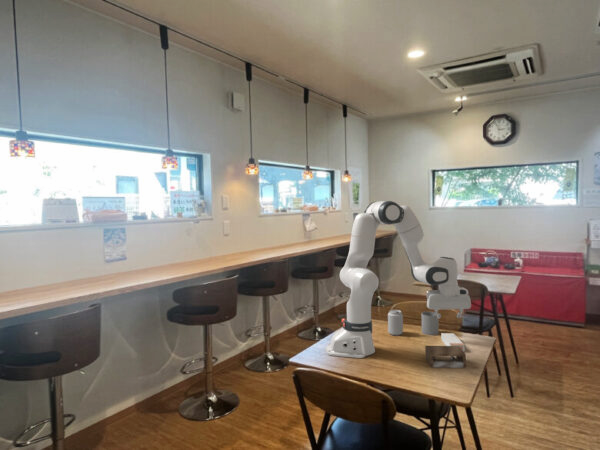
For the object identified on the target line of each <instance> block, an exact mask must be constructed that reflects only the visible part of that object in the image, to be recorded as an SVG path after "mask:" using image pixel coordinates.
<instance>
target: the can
mask: <svg viewBox="0 0 600 450" xmlns="http://www.w3.org/2000/svg"><path fill="white" fill-rule="evenodd" d="M388 311H389V312H388V313H387V331H388V334H389V335H391V336H394V337H395V336H401V335H402V334H403V333H404V314H403V313H402V311H401V310H400V309H391V310H388Z"/></svg>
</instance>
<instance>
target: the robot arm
mask: <svg viewBox="0 0 600 450" xmlns="http://www.w3.org/2000/svg"><path fill="white" fill-rule="evenodd" d="M380 225H383V226H386V225H391V226H392V225H393V226H394V227H395V231H396V233H397V234H398V237H399V238H400V240H401V243H402V247H403V250H404V252H405V254H406V256H407V259H408V261H409V265H410V272H411V276H412V278H413V279H414V280H415V281H416V282H419V283H423V284H427V285H429V286H438V289H433V290H432V289H431V290H429V291H426V299H427V300H426V307H427V309H429V310H434V312H435V313H436V314H437V318H439V319H441V318H442V314H441V313H439V310H459V312H458V313H456V318H457V319H461V318H462V314H463V313H464V310H469V309H471V308H472V302H471V301H472V300H471V297H470V295H469V290H468V289H467V288H465V287H463V286H459V283H458V276H459V272H458V264H457V261H456V259H455V258H453V257H447V256H440V257H439V258H438V259H437V260H436V261H435V262H433V263H428V262H426V261H425V260H424V259H423V258H422V255H421V252H420V250H419V248H418V247H419V246H418V244H419V243H421V242H422V240H423V238H424V236H425V235H424V229H423V227H422V225H421V223H420V222H419V219H418V218H417V216H416V214H415V213H414V211H413V210H412V209H411V207H410V206H408V205H404V204H403V205H400V204H398V203H397V202H395V201H392V200H378V201H377V200H376V201H373V202H371V203H370V204H369V205H368V206H367V207H366V209H365V210H364V212H360V213H359V214H357V215H356V216H355V218H354V221H353V224H352V230H351V233H350V240H349V241H350V243H349V251H348V255H347V258H346V260H345V263H344V266H343V267H342V268H341V269H340V271H339V280H340V282H341V283H342V284H343V285H344V286H345V287H347V288H349V289H350V295H349V299H348V300H347V302H346V318H342V319H341V323H342V328H341V329H339V330H338V331H337V332H335V333H333V335H332V336H331V339H330V340H331V341H330V342H329V343H328V344H326V349H325V351H326V354H327V355H329V356H333V357H344V358H354V359H364V358H365V357H367V356H371V355H373V354H375V352H376V349H375V345H374V340H373V320H372V300H373V295H374V293H375V291H377V289H378V287H379V284H380V280H379V277H378V276H377V275H376V273H374V272H373V271H372V270H370V269H369V268H367V267H368V264H369V262H370V260H371V258H372V257H373V256H374V252H375V244H376V243H375V242H376V236H377V235H376V234H377V233H376V232H377V230H378V227H379V226H380Z"/></svg>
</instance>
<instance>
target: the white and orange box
mask: <svg viewBox="0 0 600 450" xmlns="http://www.w3.org/2000/svg"><path fill="white" fill-rule="evenodd" d="M440 334H441V335H440V337H441V338H440V340H441V342H442V343H443V344H444V346H459V347H460V348H461V349H462V350H463V352H464V353H466V352H465V344H464V343H463V342H462V340H461V339H459V337H458V336H457V335H456V334H455V333H452V332H451V333H446V332H445V333H443V332H441V333H440Z"/></svg>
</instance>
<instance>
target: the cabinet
mask: <svg viewBox="0 0 600 450" xmlns="http://www.w3.org/2000/svg"><path fill="white" fill-rule="evenodd" d="M424 347H425V349H424V350H425V351H424V352H425V354H424V355H425V360H426V361H427V363H428V365H429V366H430V368H449V369H450V368H452V369H453V368H455V369H456V368H458V369H460V368H461V369H462V368H463V369H464V368H467V367H466V366H467V365H466V364H467V360H466V357H467V354H466V352H463V350H462V349H461V348H460V347H459V346H446V345H425V346H424ZM436 357H450V360H451V361H449V360H439V361H438V359H437V358H436Z"/></svg>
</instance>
